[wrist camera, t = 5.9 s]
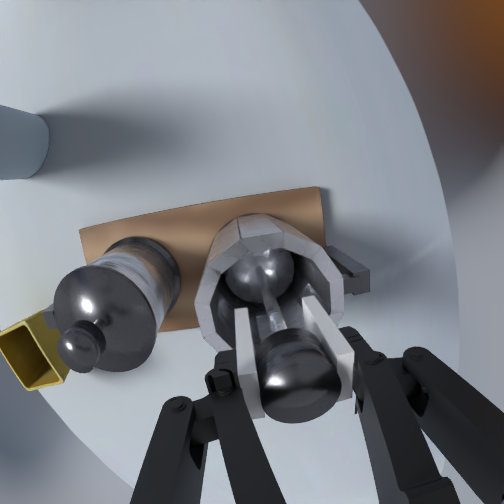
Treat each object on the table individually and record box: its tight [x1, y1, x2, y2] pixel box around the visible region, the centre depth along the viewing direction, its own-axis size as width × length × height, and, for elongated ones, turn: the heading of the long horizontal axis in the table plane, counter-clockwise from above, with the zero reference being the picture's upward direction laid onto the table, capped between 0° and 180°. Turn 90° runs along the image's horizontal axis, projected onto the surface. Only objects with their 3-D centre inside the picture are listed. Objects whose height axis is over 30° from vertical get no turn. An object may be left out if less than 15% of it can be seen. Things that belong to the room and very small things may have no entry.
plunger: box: [224, 248, 342, 423], centre depth 20 cm, size 7×7×19 cm
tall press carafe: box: [194, 213, 370, 355], centre depth 26 cm, size 10×13×13 cm
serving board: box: [79, 187, 326, 332], centre depth 33 cm, size 14×28×2 cm, turn 99°
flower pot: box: [0, 310, 70, 391], centre depth 30 cm, size 9×9×9 cm
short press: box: [42, 236, 181, 373], centre depth 24 cm, size 10×13×16 cm
